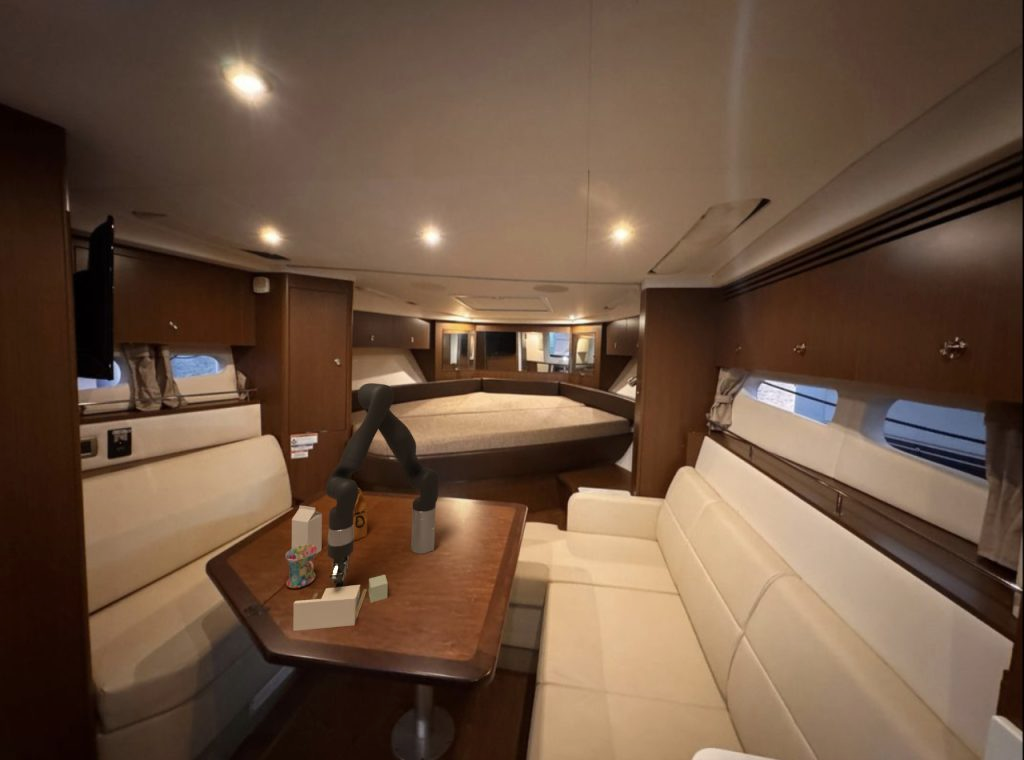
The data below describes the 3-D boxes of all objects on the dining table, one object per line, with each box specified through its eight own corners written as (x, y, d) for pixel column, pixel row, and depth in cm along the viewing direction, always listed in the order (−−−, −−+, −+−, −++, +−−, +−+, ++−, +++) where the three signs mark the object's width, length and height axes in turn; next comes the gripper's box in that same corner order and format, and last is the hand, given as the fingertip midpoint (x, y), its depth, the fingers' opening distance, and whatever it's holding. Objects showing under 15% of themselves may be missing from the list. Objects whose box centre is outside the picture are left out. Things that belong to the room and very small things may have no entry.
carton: (360, 598, 108) (360, 584, 107) (354, 616, 100) (354, 602, 100) (325, 602, 105) (325, 588, 105) (317, 621, 97) (317, 606, 97)
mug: (279, 584, 112) (279, 553, 111) (308, 570, 120) (308, 541, 119) (297, 598, 106) (297, 566, 105) (326, 582, 114) (327, 552, 113)
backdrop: (355, 622, 97) (355, 596, 97) (354, 625, 96) (354, 598, 96) (295, 628, 94) (295, 600, 94) (293, 630, 93) (293, 603, 93)
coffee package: (349, 545, 137) (350, 492, 136) (333, 535, 144) (334, 485, 143) (371, 535, 145) (372, 486, 144) (354, 526, 152) (355, 479, 151)
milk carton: (307, 561, 125) (307, 511, 124) (291, 558, 127) (291, 509, 126) (321, 550, 132) (322, 504, 131) (306, 548, 133) (306, 501, 133)
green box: (384, 588, 112) (385, 574, 112) (387, 598, 108) (387, 583, 107) (368, 593, 109) (369, 578, 109) (370, 603, 105) (370, 587, 105)
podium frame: (366, 591, 110) (366, 588, 110) (355, 621, 97) (355, 618, 97) (314, 595, 107) (314, 592, 107) (295, 626, 95) (295, 624, 95)
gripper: (346, 549, 101) (345, 604, 102) (359, 528, 114) (358, 576, 115) (320, 551, 100) (319, 606, 101) (335, 529, 113) (334, 578, 114)
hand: (340, 590), depth 108 cm, fingers closed
